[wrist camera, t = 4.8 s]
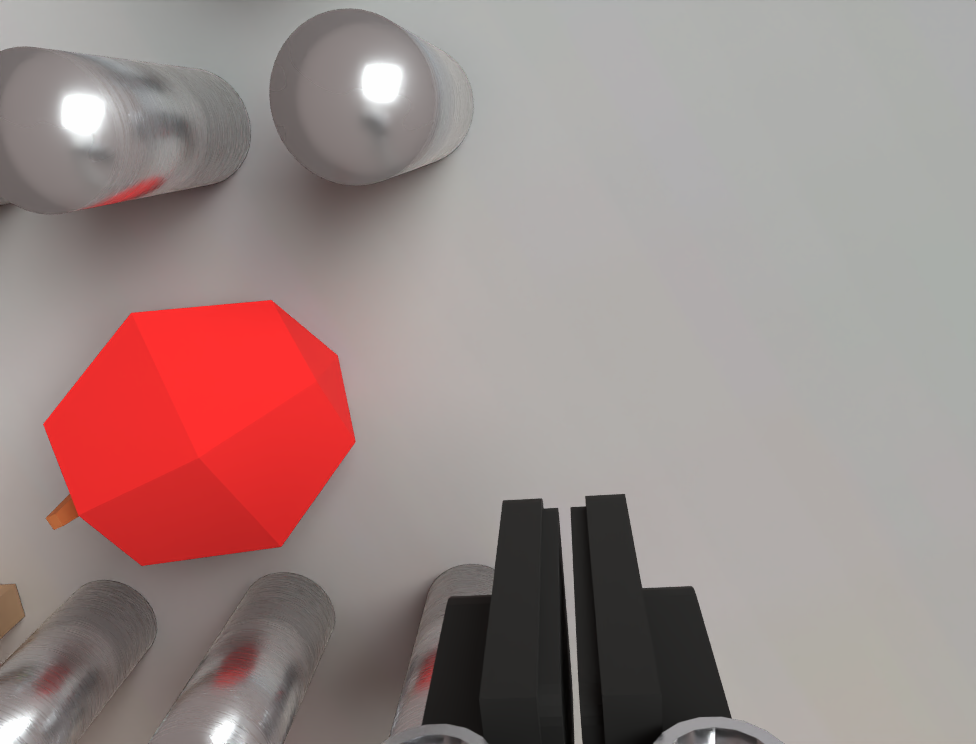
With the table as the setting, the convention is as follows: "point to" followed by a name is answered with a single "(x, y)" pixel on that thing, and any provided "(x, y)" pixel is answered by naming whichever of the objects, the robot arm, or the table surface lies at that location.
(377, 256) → the table surface
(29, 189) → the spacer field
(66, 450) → the apple
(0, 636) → the tray
